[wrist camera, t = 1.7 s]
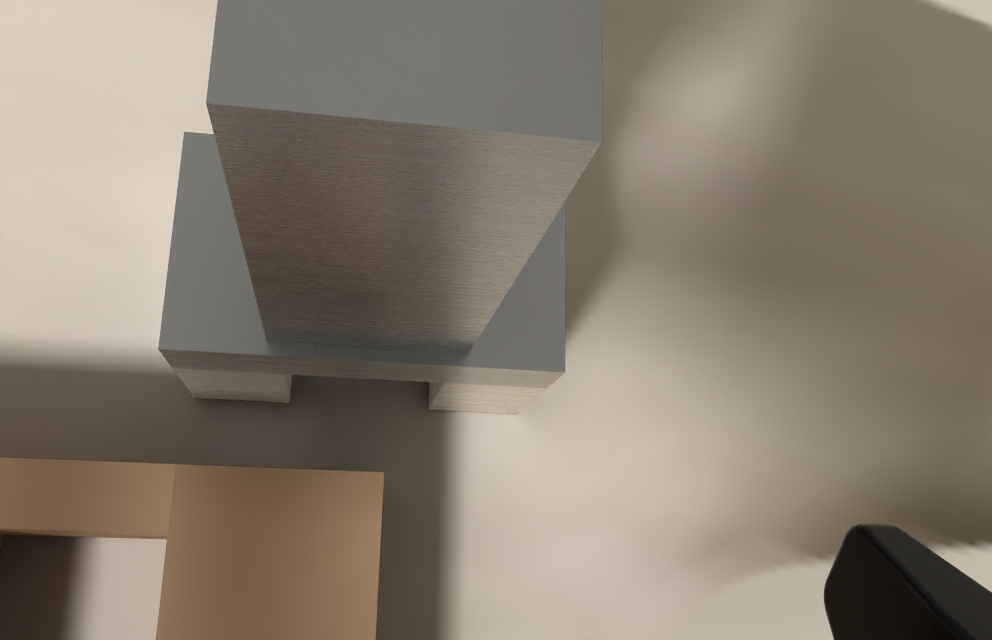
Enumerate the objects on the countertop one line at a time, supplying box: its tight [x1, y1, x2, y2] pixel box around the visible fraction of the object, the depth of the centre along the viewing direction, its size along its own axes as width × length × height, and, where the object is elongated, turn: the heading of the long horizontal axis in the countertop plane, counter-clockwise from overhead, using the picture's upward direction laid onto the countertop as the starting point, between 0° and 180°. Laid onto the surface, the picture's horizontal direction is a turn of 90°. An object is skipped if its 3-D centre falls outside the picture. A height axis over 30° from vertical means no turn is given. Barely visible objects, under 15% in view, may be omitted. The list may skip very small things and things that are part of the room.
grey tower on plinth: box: [158, 0, 603, 414], centre depth 15 cm, size 7×4×13 cm, turn 89°
